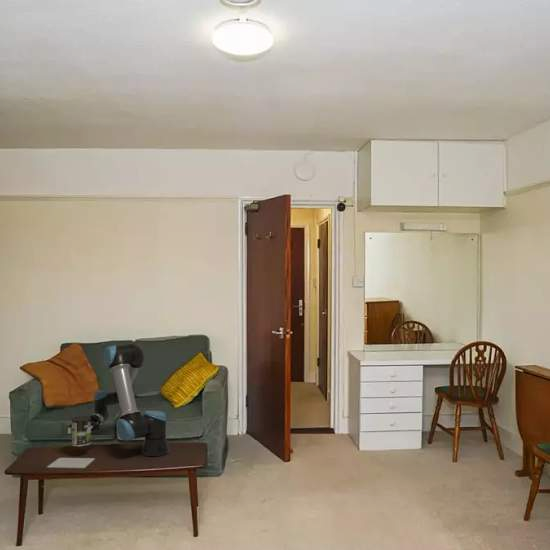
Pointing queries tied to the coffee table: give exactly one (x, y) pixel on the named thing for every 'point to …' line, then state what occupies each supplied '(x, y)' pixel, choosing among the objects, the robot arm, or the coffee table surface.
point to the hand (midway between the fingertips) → (78, 431)
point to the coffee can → (81, 431)
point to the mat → (71, 463)
